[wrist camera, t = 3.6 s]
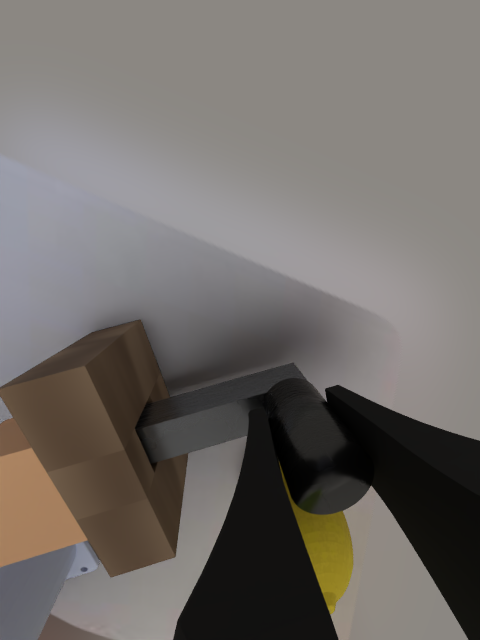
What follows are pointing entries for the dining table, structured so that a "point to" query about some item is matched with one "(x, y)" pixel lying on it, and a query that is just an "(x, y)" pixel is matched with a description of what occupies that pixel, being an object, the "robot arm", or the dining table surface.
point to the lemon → (326, 549)
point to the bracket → (104, 444)
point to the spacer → (29, 503)
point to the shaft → (286, 427)
